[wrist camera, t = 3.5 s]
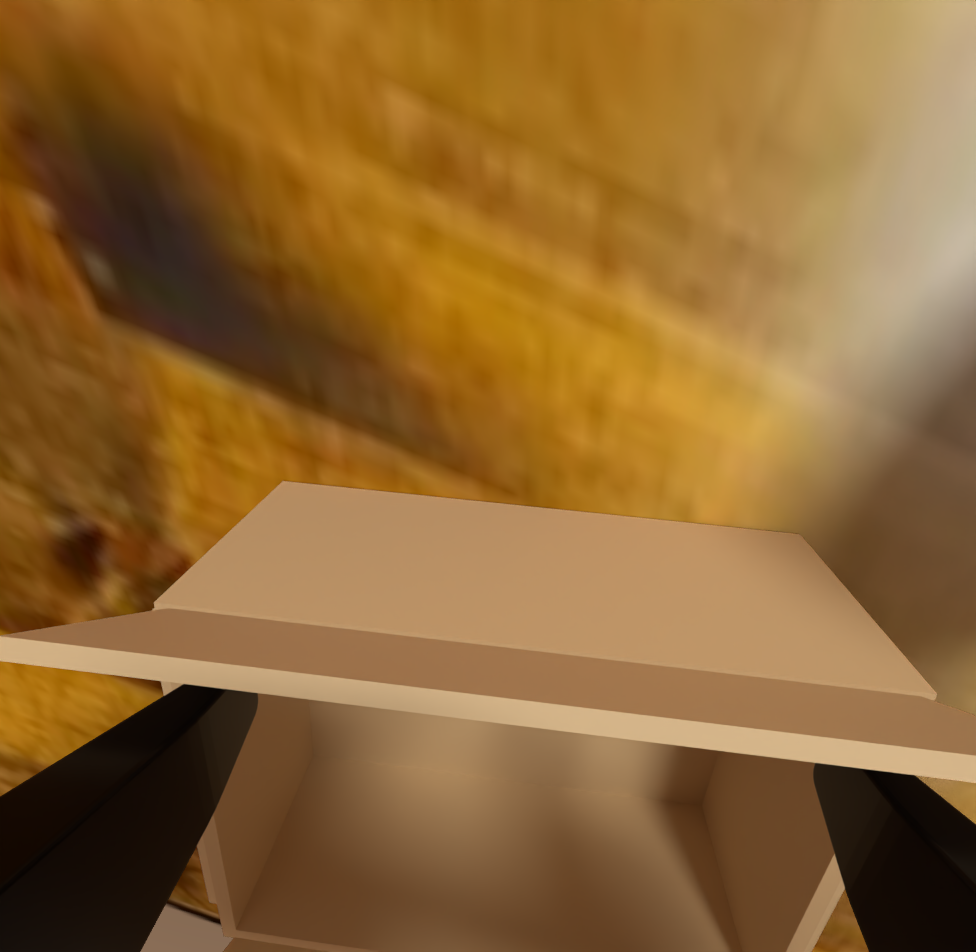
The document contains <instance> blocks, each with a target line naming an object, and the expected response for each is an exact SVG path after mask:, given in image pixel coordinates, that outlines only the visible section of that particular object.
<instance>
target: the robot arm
mask: <svg viewBox="0 0 976 952" xmlns="http://www.w3.org/2000/svg"><path fill="white" fill-rule="evenodd" d="M257 707H258V693H253V692H245V691H237V690H229V689H221V688H213V687H205V686H197V685H189V684H183V685H181V686H179V687H178V688H176V689H174V690H173V691H171V692H170V693H168V694H166V695H165V696H163V697H161V698H160V699H158V700H157V701H155V702H153V703H152V704H150V705H148V706H147V707H145V708H144V709H142V710H140V711H139V712H137V713H135V714H134V715H132V716H131V717H129V718H127V719H126V720H124V721H122V722H121V723H119V724H118V725H116V726H114V727H113V728H111V729H109V730H108V731H106V732H104V733H103V734H101V735H100V736H98V737H96V738H95V739H93V740H91V741H90V742H88V743H87V744H85V745H83V746H82V747H80V748H78V749H77V750H75V751H74V752H72V753H70V754H69V755H67V756H65V757H64V758H62V759H61V760H59V761H57V762H56V763H54V764H52V765H51V766H49V767H48V768H46V769H44V770H43V771H41V772H39V773H38V774H36V775H34V776H33V777H31V778H30V779H28V780H26V781H25V782H23V783H21V784H20V785H18V786H17V787H15V788H13V789H12V790H10V791H8V792H7V793H5V794H4V795H2V796H0V952H140V951H141V949H142V947H143V946H144V944H145V942H146V940H147V938H148V936H149V934H150V932H151V931H152V929H153V927H154V925H155V923H156V921H157V919H158V918H159V916H160V914H161V912H162V910H163V908H164V906H165V904H166V903H167V901H168V899H169V897H170V895H171V893H172V891H173V889H174V888H175V886H176V884H177V882H178V880H179V878H180V876H181V874H182V873H183V871H184V869H185V867H186V865H187V863H188V861H189V859H190V858H191V856H192V854H193V852H194V850H195V848H196V846H197V845H198V843H199V841H200V839H201V837H202V835H203V833H204V831H205V830H206V828H207V826H208V824H209V822H210V820H211V818H212V816H213V814H214V812H215V810H216V808H217V805H218V803H219V801H220V799H221V796H222V794H223V792H224V789H225V787H226V785H227V782H228V780H229V777H230V775H231V773H232V770H233V768H234V765H235V763H236V760H237V758H238V756H239V753H240V751H241V748H242V746H243V744H244V741H245V739H246V736H247V734H248V732H249V729H250V727H251V724H252V722H253V720H254V717H255V715H256V711H257ZM813 780H814V785H815V789H816V792H817V795H818V799H819V802H820V806H821V809H822V812H823V816H824V819H825V823H826V826H827V830H828V833H829V836H830V840H831V843H832V847H833V850H834V853H835V857H836V860H837V864H838V867H839V870H840V874H841V877H842V880H843V883H844V886H845V890H846V893H847V896H848V898H849V901H850V904H851V906H852V909H853V912H854V914H855V917H856V920H857V922H858V925H859V927H860V930H861V932H862V935H863V937H864V940H865V942H866V945H867V947H868V950H869V952H976V824H975V823H973V822H972V821H971V820H970V819H968V818H967V817H966V816H965V815H963V814H962V813H961V812H960V811H958V810H957V809H956V808H955V807H953V806H952V805H951V804H950V803H948V802H947V801H946V800H945V799H943V798H942V797H941V796H940V795H938V794H937V793H936V792H935V791H933V790H932V789H931V788H930V787H928V786H927V785H926V784H925V783H923V782H922V781H921V780H920V779H919V778H917V777H916V776H915V775H909V774H901V773H893V772H885V771H877V770H869V769H861V768H853V767H845V766H837V765H829V764H821V763H815V765H814V770H813Z"/></svg>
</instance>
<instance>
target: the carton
mask: <svg viewBox="0 0 976 952" xmlns="http://www.w3.org/2000/svg"><path fill="white" fill-rule="evenodd" d="M154 606H155V608H154V609H153V610H152V611H154V610H160V609H166V608H172V609H181V610H189V611H198V612H206V613H215V614H223V615H232V616H240V617H249V618H257V619H266V620H275V621H283V622H292V623H300V624H309V625H317V626H326V627H334V628H343V629H351V630H360V631H368V632H377V633H385V634H394V635H403V636H411V637H420V638H428V639H437V640H445V641H454V642H462V643H471V644H479V645H488V646H496V647H505V648H513V649H522V650H530V651H539V652H548V653H556V654H565V655H573V656H582V657H590V658H599V659H607V660H616V661H624V662H633V663H641V664H650V665H658V666H667V667H676V668H684V669H693V670H701V671H710V672H718V673H727V674H735V675H744V676H752V677H761V678H769V679H778V680H786V681H795V682H803V683H812V684H821V685H829V686H838V687H846V688H855V689H863V690H872V691H880V692H889V693H897V694H906V695H914V696H922V697H924V698H927V699H930V700H933V701H934V700H935V698H936V696H937V693H936V692H935V691H934V690H933V688H932V687H931V686H930V685H929V684H928V683H927V681H926V680H925V679H924V678H923V677H922V676H921V674H920V673H919V672H918V671H917V670H916V669H915V668H914V666H913V665H912V664H911V663H910V662H909V661H908V659H907V658H906V657H905V656H904V655H903V654H902V652H901V651H900V650H899V649H898V648H897V647H896V645H895V644H894V643H893V642H892V641H891V640H890V638H889V637H888V636H887V635H886V634H885V633H884V631H883V630H882V629H881V628H880V627H879V626H878V624H877V623H876V622H875V621H874V620H873V619H872V617H871V616H870V615H869V614H868V613H867V612H866V610H865V609H864V608H863V607H862V606H861V605H860V603H859V602H858V601H857V600H856V599H855V598H854V597H853V595H852V594H851V593H850V592H849V591H848V590H847V588H846V587H845V586H844V585H843V584H842V583H841V581H840V580H839V579H838V578H837V577H836V576H835V574H834V573H833V572H832V571H831V570H830V569H829V567H828V566H827V565H826V564H825V563H824V562H823V560H822V559H821V558H820V557H819V556H818V555H817V553H816V552H815V551H814V550H813V549H812V548H811V546H810V545H809V544H808V543H807V542H806V541H805V539H804V538H803V537H802V536H801V535H800V534H794V533H784V532H774V531H764V530H755V529H745V528H735V527H725V526H716V525H706V524H696V523H686V522H677V521H667V520H657V519H647V518H638V517H628V516H618V515H608V514H599V513H589V512H579V511H569V510H559V509H550V508H540V507H530V506H520V505H511V504H501V503H491V502H481V501H472V500H462V499H452V498H442V497H433V496H423V495H413V494H403V493H394V492H384V491H374V490H364V489H355V488H345V487H335V486H325V485H316V484H306V483H296V482H286V481H283V482H282V483H280V484H279V485H278V486H277V487H276V488H275V489H274V490H273V491H272V492H271V493H270V494H269V495H268V496H267V497H266V498H265V499H263V500H262V501H261V502H260V503H259V504H258V505H257V506H256V507H255V508H254V509H253V510H252V511H251V512H250V513H249V514H248V515H246V516H245V517H244V518H243V519H242V520H241V521H240V522H239V523H238V524H237V525H236V526H235V527H234V528H233V529H232V530H231V531H229V532H228V533H227V534H226V535H225V536H224V537H223V538H222V539H221V540H220V541H219V542H218V543H217V544H216V545H215V546H213V547H212V548H211V549H210V550H209V551H208V552H207V553H206V554H205V555H204V556H203V557H202V558H201V559H200V560H199V561H198V562H196V563H195V564H194V565H193V566H192V567H191V568H190V569H189V570H188V571H187V572H186V573H185V574H184V575H183V576H182V577H181V578H179V579H178V580H177V581H176V582H175V583H174V584H173V585H172V586H171V587H170V588H169V589H168V590H167V591H166V592H165V593H164V594H162V595H161V596H160V597H159V598H158V599H157V600H156V601H155V602H154ZM161 684H162V688H163V693H164V696H165V695H166V694H168V693H170V692H171V691H173V690H174V689H176V688H178V687H179V686H181V685H183V684H181V683H173V682H165V681H161ZM814 765H815V763H813V762H805V761H797V760H789V759H781V758H773V757H765V756H757V755H749V754H741V753H733V752H725V751H717V750H709V749H701V748H693V747H685V746H677V745H669V744H661V743H653V742H645V741H637V740H629V739H621V738H613V737H605V736H597V735H589V734H581V733H573V732H565V731H557V730H549V729H541V728H533V727H525V726H517V725H509V724H501V723H493V722H485V721H477V720H469V719H461V718H453V717H445V716H437V715H429V714H421V713H413V712H405V711H397V710H389V709H381V708H373V707H365V706H357V705H349V704H341V703H333V702H325V701H317V700H309V699H301V698H293V697H285V696H277V695H269V694H261V693H258V707H257V711H256V715H255V717H254V720H253V722H252V724H251V727H250V729H249V732H248V734H247V736H246V739H245V741H244V744H243V746H242V748H241V751H240V753H239V756H238V758H237V760H236V763H235V765H234V768H233V770H232V773H231V775H230V777H229V780H228V782H227V785H226V787H225V789H224V792H223V794H222V796H221V799H220V801H219V803H218V805H217V808H216V810H215V812H214V814H213V816H212V818H211V820H210V822H209V824H208V826H207V828H206V830H205V831H204V833H203V835H202V837H201V839H200V841H199V843H198V845H197V849H198V853H199V858H200V862H201V867H202V871H203V876H204V881H205V885H206V890H207V894H208V899H209V903H214V904H217V907H218V911H219V916H220V921H221V926H222V930H223V935H224V936H225V937H232V938H234V937H235V938H242V939H249V940H255V941H262V942H269V943H275V944H282V945H288V946H295V947H302V948H308V949H315V950H322V951H328V952H812V950H813V948H814V946H815V944H816V942H817V940H818V938H819V937H820V935H821V933H822V931H823V929H824V927H825V925H826V923H827V921H828V919H829V918H830V916H831V914H832V912H833V910H834V908H835V906H836V904H837V902H838V901H839V899H840V897H841V895H842V893H843V891H844V889H845V886H844V883H843V880H842V877H841V874H840V870H839V867H838V864H837V860H836V857H835V853H834V850H833V847H832V843H831V840H830V836H829V833H828V830H827V826H826V823H825V819H824V816H823V812H822V809H821V806H820V802H819V799H818V795H817V792H816V789H815V785H814V780H813V770H814Z"/></svg>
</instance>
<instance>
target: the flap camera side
mask: <svg viewBox="0 0 976 952" xmlns="http://www.w3.org/2000/svg"><path fill="white" fill-rule="evenodd" d="M223 952H328V951H322V950H315V949H308V948H302V947H295V946H288V945H282V944H275V943H269V942H262V941H255V940H249V939H242V938H235V937H234V938H233V940H232V941H231V942H230V943H229V945H228V946H227V947H226V948H225V950H224V951H223Z"/></svg>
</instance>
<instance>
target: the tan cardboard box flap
mask: <svg viewBox="0 0 976 952" xmlns="http://www.w3.org/2000/svg"><path fill="white" fill-rule="evenodd" d="M0 661H5V662H13V663H21V664H29V665H37V666H45V667H53V668H61V669H69V670H77V671H85V672H93V673H101V674H109V675H117V676H125V677H133V678H141V679H149V680H157V681H165V682H173V683H181V684H189V685H197V686H205V687H213V688H221V689H229V690H237V691H245V692H253V693H261V694H269V695H277V696H285V697H293V698H301V699H309V700H317V701H325V702H333V703H341V704H349V705H357V706H365V707H373V708H381V709H389V710H397V711H405V712H413V713H421V714H429V715H437V716H445V717H453V718H461V719H469V720H477V721H485V722H493V723H501V724H509V725H517V726H525V727H533V728H541V729H549V730H557V731H565V732H573V733H581V734H589V735H597V736H605V737H613V738H621V739H629V740H637V741H645V742H653V743H661V744H669V745H677V746H685V747H693V748H701V749H709V750H717V751H725V752H733V753H741V754H749V755H757V756H765V757H773V758H781V759H789V760H797V761H805V762H813V763H821V764H829V765H837V766H845V767H853V768H861V769H869V770H877V771H885V772H893V773H901V774H909V775H917V776H925V777H933V778H941V779H949V780H957V781H965V782H973V783H976V716H975V715H973V714H970V713H967V712H964V711H961V710H958V709H956V708H953V707H950V706H947V705H944V704H941V703H939V702H936V701H933V700H930V699H927V698H924V697H922V696H914V695H906V694H897V693H889V692H880V691H872V690H863V689H855V688H846V687H838V686H829V685H821V684H812V683H803V682H795V681H786V680H778V679H769V678H761V677H752V676H744V675H735V674H727V673H718V672H710V671H701V670H693V669H684V668H676V667H667V666H658V665H650V664H641V663H633V662H624V661H616V660H607V659H599V658H590V657H582V656H573V655H565V654H556V653H548V652H539V651H530V650H522V649H513V648H505V647H496V646H488V645H479V644H471V643H462V642H454V641H445V640H437V639H428V638H420V637H411V636H403V635H394V634H385V633H377V632H368V631H360V630H351V629H343V628H334V627H326V626H317V625H309V624H300V623H292V622H283V621H275V620H266V619H257V618H249V617H240V616H232V615H223V614H215V613H206V612H198V611H189V610H181V609H172V608H166V609H160V610H154V611H148V612H142V613H136V614H129V615H123V616H117V617H111V618H105V619H99V620H93V621H87V622H81V623H75V624H68V625H62V626H56V627H50V628H44V629H38V630H32V631H26V632H20V633H14V634H7V635H1V636H0Z"/></svg>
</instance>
